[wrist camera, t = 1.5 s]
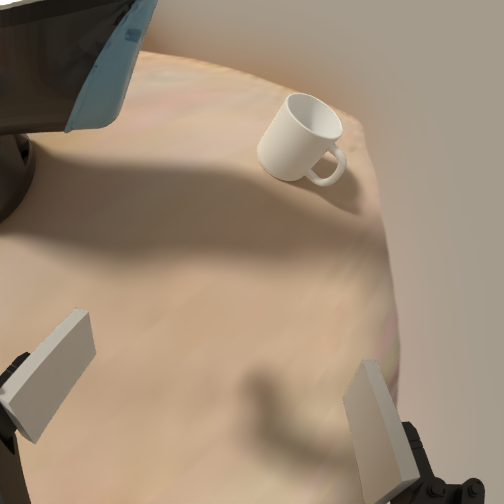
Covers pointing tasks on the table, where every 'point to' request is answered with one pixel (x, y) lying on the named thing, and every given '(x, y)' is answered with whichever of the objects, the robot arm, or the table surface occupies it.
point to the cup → (301, 140)
